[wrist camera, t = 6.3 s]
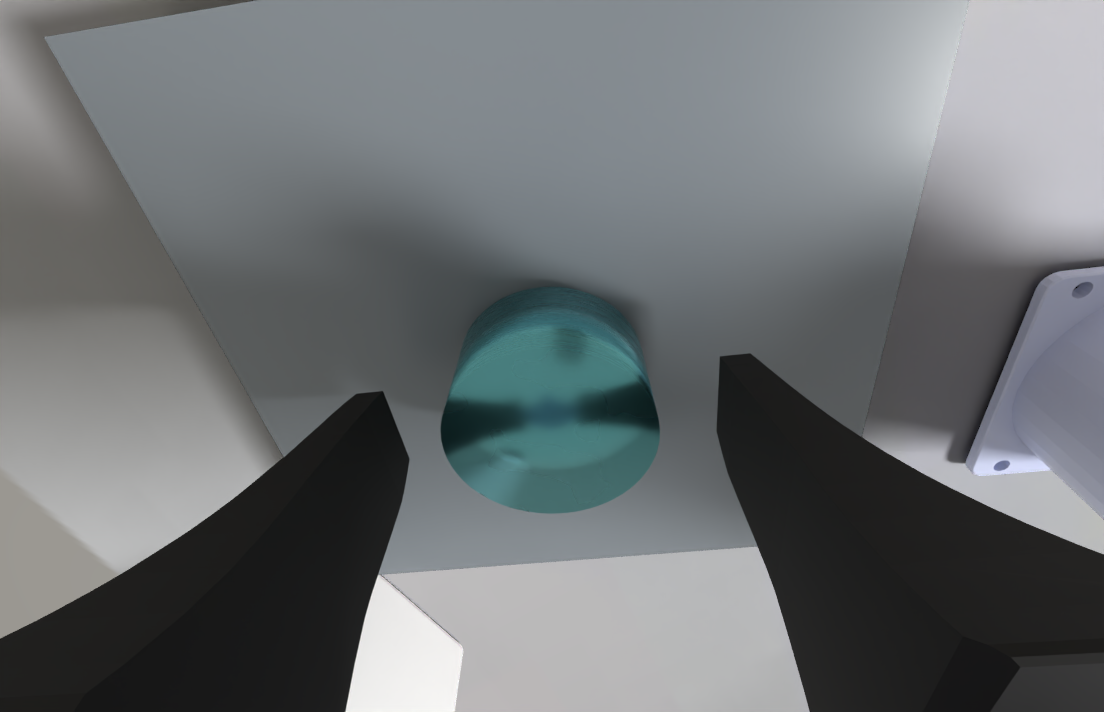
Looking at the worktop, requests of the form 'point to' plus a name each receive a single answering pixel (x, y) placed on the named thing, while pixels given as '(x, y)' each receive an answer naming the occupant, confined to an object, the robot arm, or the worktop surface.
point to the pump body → (531, 212)
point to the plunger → (550, 403)
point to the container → (403, 658)
